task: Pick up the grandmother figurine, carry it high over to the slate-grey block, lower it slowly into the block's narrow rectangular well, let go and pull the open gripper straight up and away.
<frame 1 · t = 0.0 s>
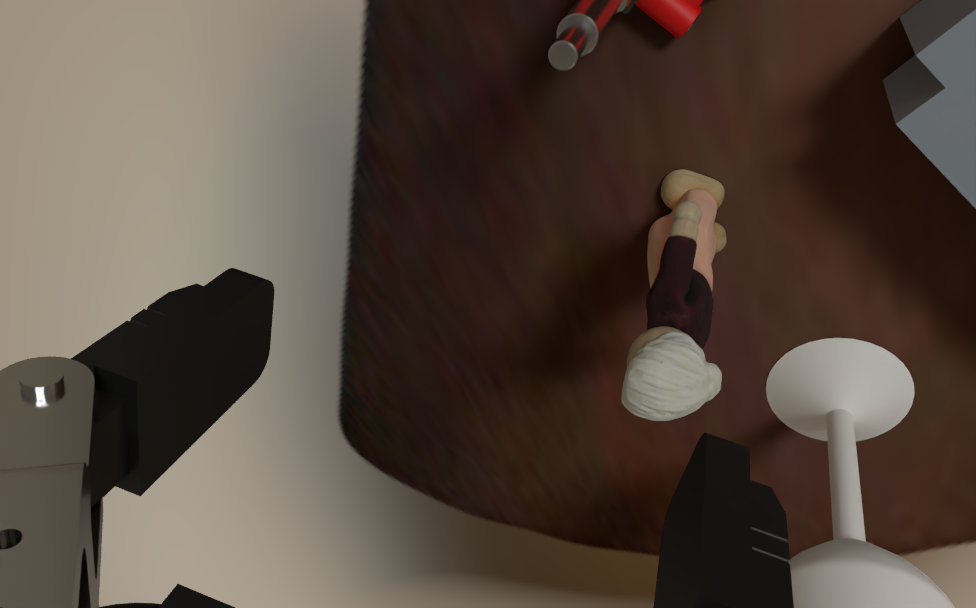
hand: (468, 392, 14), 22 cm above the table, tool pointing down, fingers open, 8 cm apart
grandmother figurine: (693, 223, 35), on the table
champagne flute: (837, 389, 38), on the table
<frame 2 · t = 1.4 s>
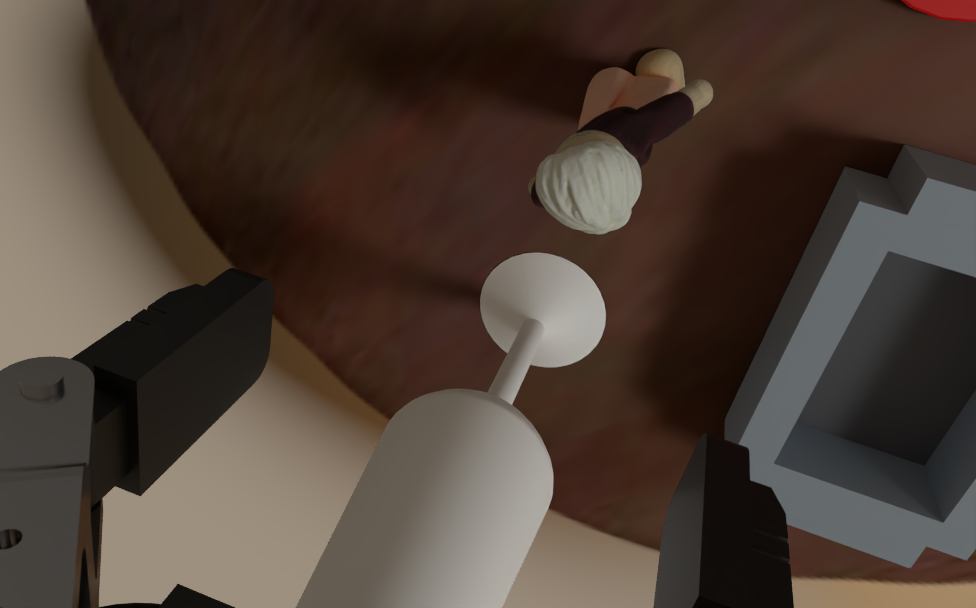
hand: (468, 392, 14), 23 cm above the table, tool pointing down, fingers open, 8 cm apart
grandmother figurine: (628, 102, 34), on the table
well block: (898, 342, 35), on the table
champagne flute: (542, 310, 40), on the table
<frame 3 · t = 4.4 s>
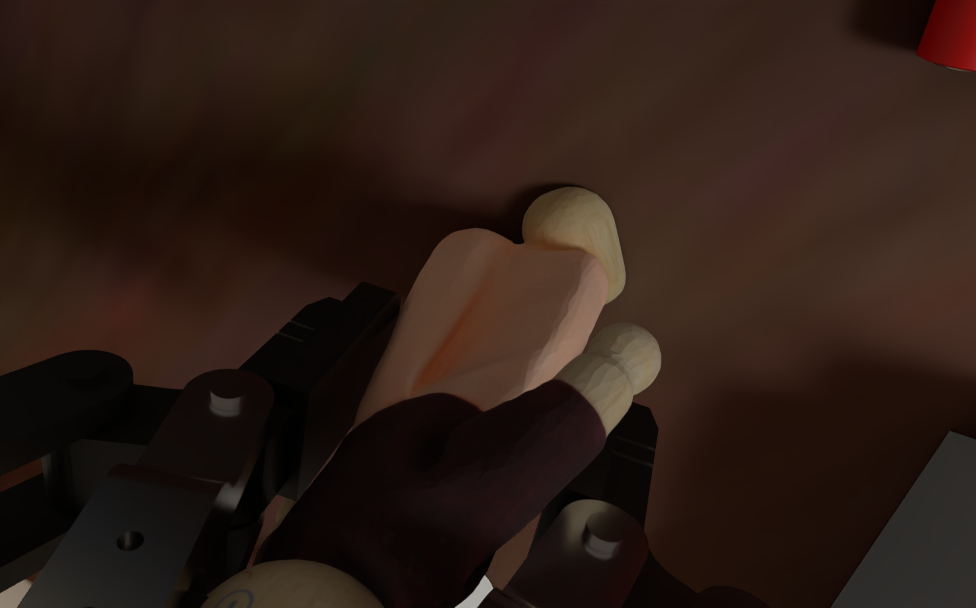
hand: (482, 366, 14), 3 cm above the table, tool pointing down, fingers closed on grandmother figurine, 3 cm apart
grandmother figurine: (518, 281, 17), on the table, touching gripper
champagne flute: (398, 594, 23), on the table
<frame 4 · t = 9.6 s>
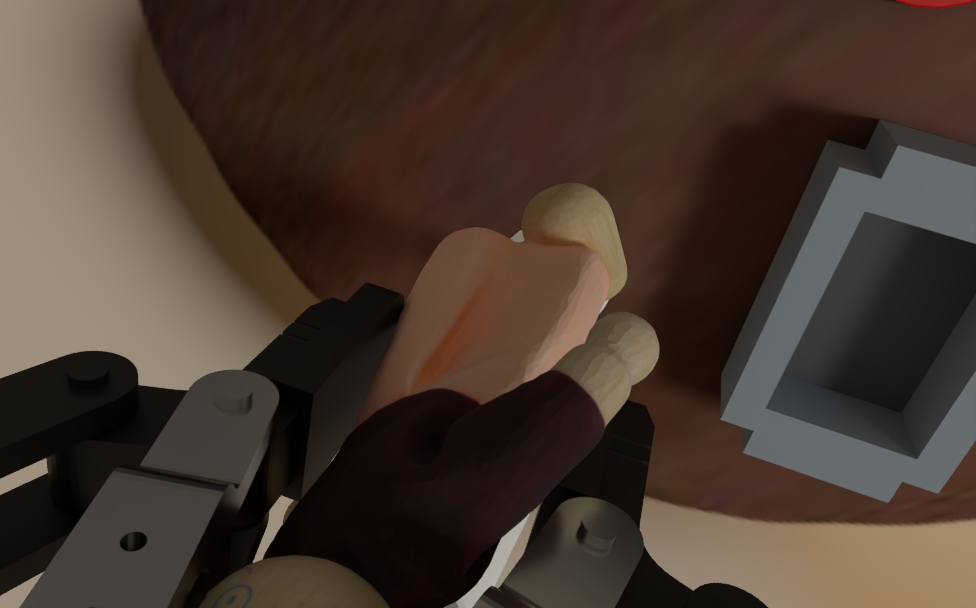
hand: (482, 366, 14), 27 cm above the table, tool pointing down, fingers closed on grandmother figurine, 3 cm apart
grandmother figurine: (520, 280, 17), point 24 cm above the table, touching gripper
well block: (876, 300, 39), on the table
champagne flute: (554, 275, 44), on the table
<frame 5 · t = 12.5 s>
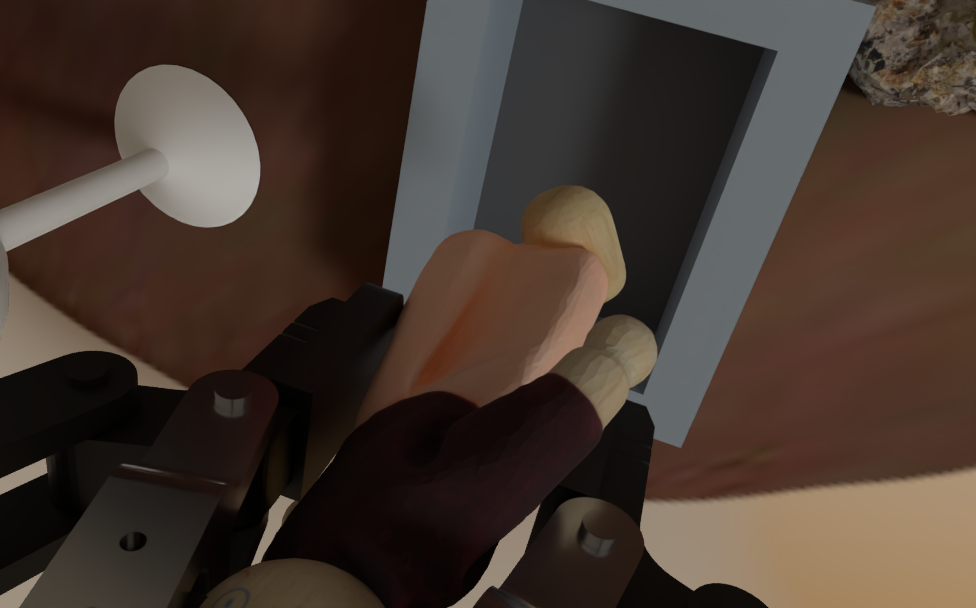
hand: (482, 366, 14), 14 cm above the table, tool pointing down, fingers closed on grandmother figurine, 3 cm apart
grandmother figurine: (519, 282, 17), point 10 cm above the table, touching gripper
well block: (600, 162, 26), on the table
champagne flute: (189, 148, 31), on the table
when the fingers open (6 cm above the table, at t = 15.1 s): grandmother figurine drops 2 cm, resting on well block.
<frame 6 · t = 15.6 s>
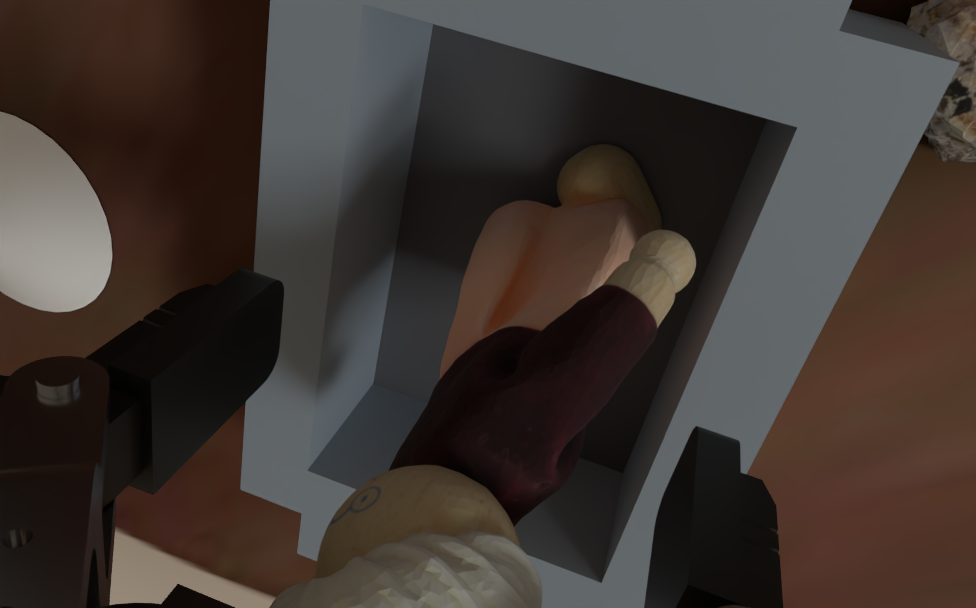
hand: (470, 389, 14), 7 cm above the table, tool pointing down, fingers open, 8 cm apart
grandmother figurine: (565, 245, 19), resting on well block
well block: (546, 250, 19), on the table
champagne flute: (23, 214, 24), on the table
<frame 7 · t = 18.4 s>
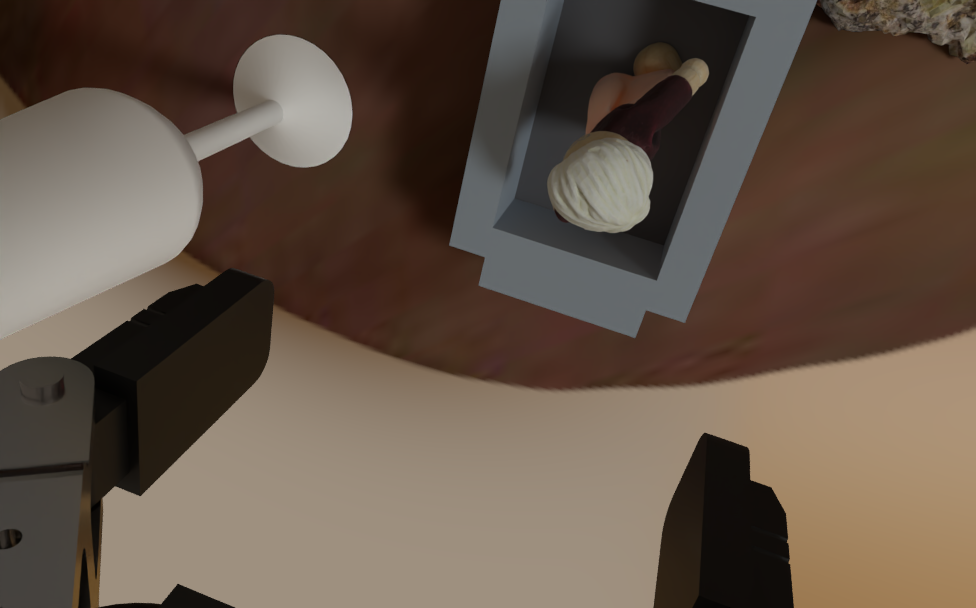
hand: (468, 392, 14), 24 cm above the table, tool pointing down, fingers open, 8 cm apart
grandmother figurine: (635, 103, 34), resting on well block
well block: (623, 108, 34), on the table
champagne flute: (293, 102, 39), on the table
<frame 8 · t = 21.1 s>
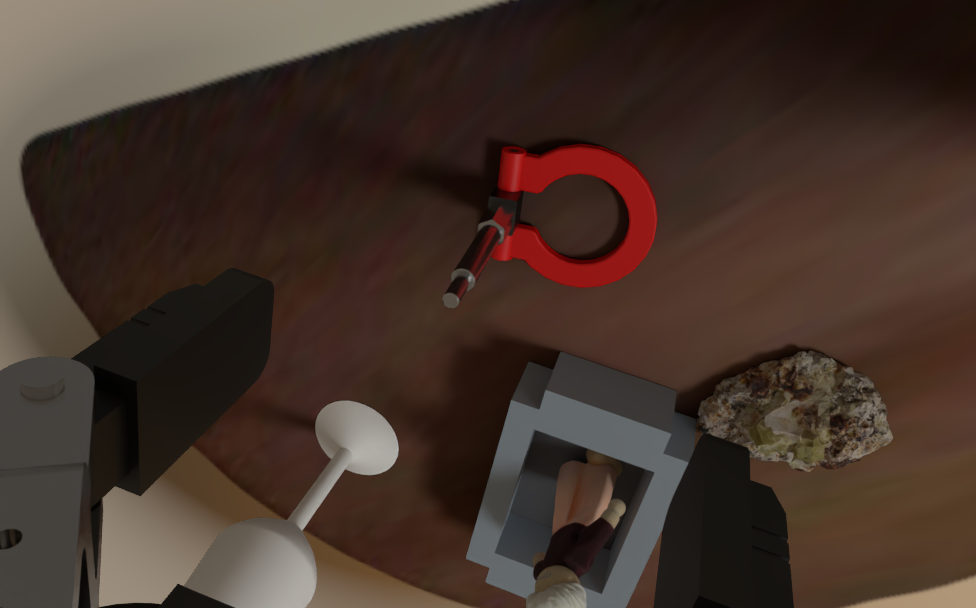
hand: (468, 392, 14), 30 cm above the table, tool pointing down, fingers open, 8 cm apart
mineral rock: (786, 403, 46), on the table
grandmother figurine: (588, 471, 51), resting on well block
tow hook: (575, 211, 44), on the table
well block: (581, 470, 52), on the table
champagne flute: (357, 437, 56), on the table
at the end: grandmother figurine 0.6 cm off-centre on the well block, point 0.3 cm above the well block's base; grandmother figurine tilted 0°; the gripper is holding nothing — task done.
